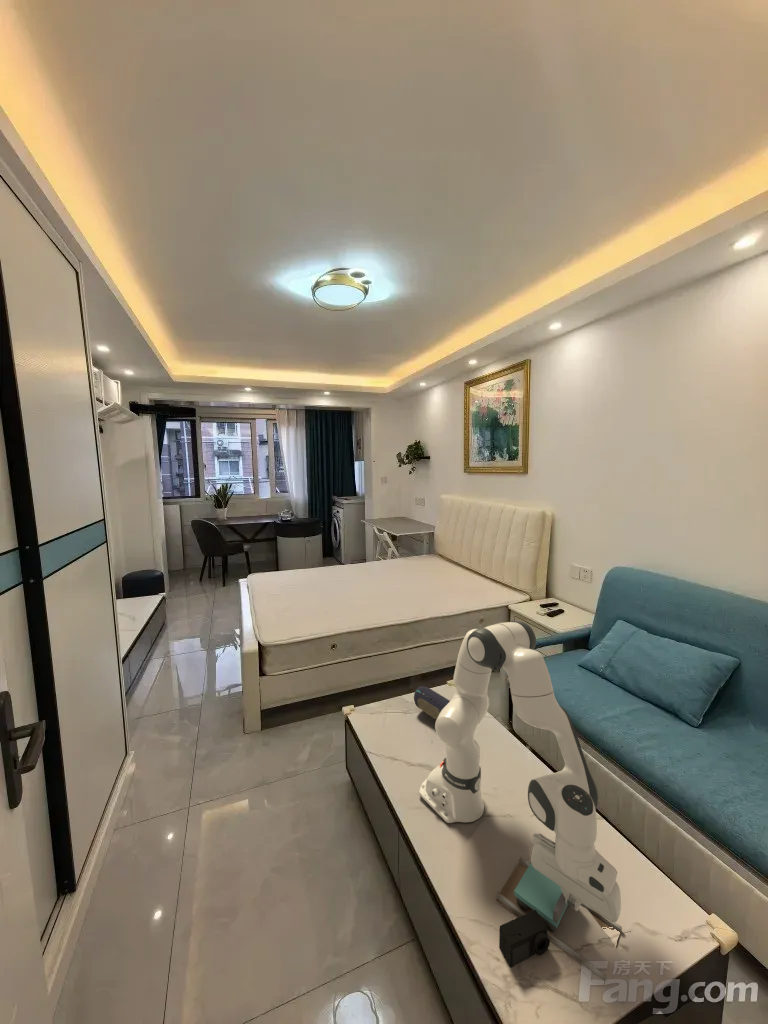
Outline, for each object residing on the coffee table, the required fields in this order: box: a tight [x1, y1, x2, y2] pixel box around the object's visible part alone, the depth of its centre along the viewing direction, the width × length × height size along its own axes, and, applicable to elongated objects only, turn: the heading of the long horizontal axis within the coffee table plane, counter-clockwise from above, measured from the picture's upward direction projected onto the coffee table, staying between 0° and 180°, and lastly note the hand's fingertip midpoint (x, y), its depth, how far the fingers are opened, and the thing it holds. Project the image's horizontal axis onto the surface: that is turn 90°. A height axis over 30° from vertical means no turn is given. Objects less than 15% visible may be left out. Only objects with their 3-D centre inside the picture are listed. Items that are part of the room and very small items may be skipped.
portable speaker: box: [413, 685, 451, 721], centre depth 185 cm, size 25×10×10 cm, turn 38°
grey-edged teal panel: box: [514, 862, 572, 933], centre depth 106 cm, size 11×11×7 cm
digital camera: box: [498, 910, 551, 968], centre depth 96 cm, size 10×5×7 cm, turn 109°
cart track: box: [496, 857, 622, 981], centre depth 104 cm, size 26×14×2 cm, turn 46°
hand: (572, 905), depth 101 cm, fingers closed
